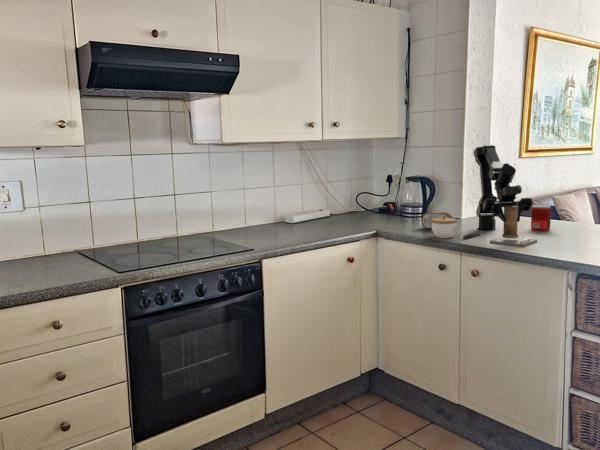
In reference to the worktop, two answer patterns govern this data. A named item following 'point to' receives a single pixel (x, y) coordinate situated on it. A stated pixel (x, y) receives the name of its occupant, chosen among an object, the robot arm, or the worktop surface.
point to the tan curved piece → (431, 215)
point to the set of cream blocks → (524, 240)
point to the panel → (511, 241)
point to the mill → (510, 222)
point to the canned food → (540, 217)
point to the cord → (471, 235)
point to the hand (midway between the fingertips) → (511, 221)
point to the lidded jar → (443, 227)
